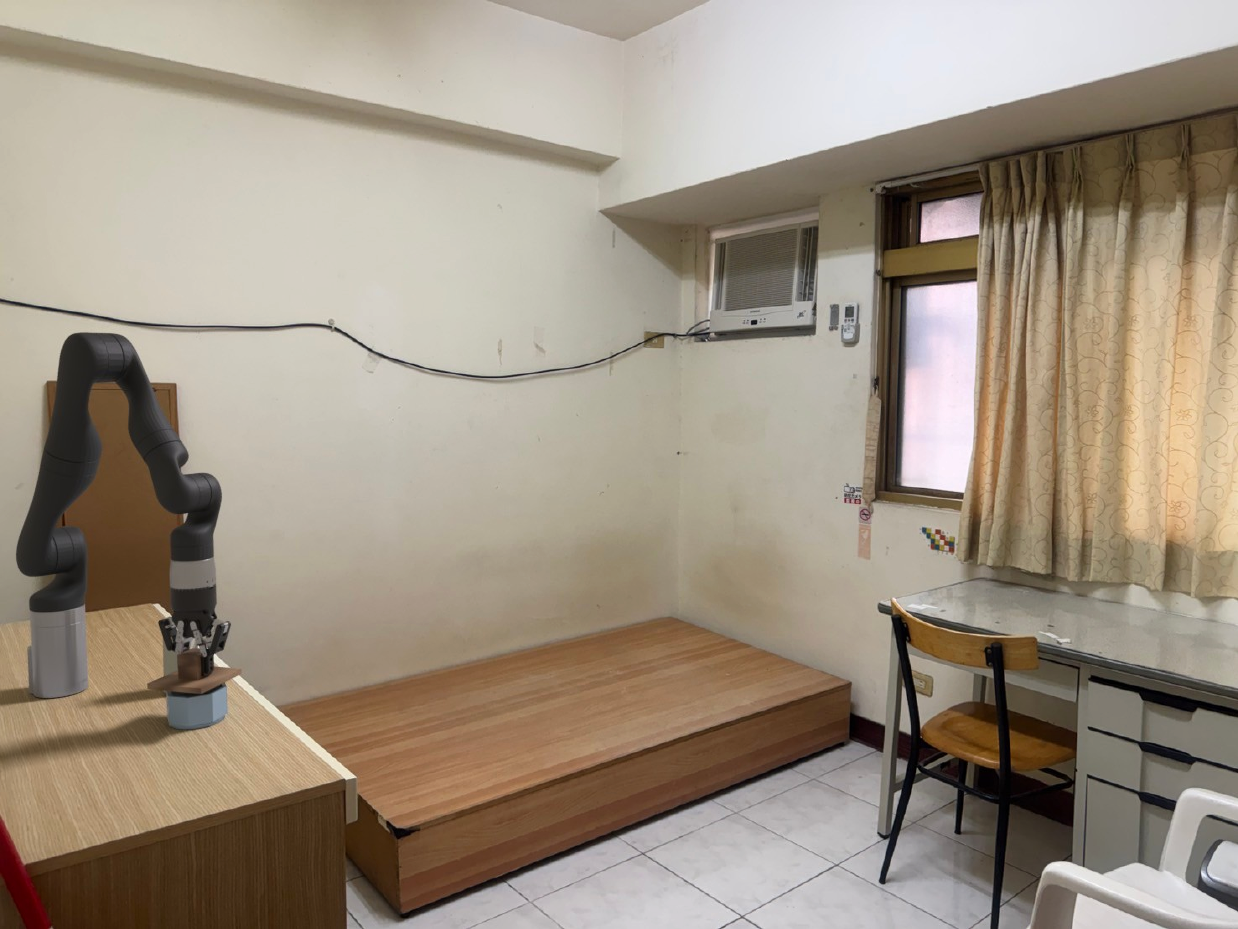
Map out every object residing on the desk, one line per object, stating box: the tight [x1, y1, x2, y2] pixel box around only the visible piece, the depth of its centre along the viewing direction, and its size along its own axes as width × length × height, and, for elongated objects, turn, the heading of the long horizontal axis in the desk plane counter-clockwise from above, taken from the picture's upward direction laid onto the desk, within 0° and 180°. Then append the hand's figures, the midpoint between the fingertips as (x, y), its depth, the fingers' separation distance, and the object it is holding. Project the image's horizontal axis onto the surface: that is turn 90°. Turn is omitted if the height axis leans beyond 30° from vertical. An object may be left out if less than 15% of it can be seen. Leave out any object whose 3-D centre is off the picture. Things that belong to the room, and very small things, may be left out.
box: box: [162, 627, 199, 693], centre depth 168 cm, size 5×4×13 cm
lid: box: [146, 647, 243, 694], centre depth 152 cm, size 11×11×6 cm
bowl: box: [165, 682, 229, 731], centre depth 153 cm, size 10×10×6 cm
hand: (196, 673), depth 152 cm, fingers closed on lid, 4 cm apart
